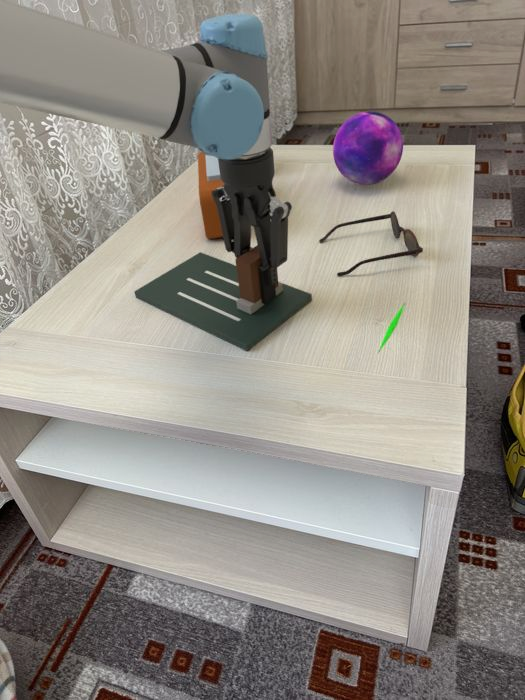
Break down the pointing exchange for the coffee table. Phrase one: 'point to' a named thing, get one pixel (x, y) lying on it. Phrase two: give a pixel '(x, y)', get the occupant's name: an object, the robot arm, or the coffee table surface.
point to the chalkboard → (219, 301)
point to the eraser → (251, 281)
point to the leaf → (391, 327)
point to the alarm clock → (209, 194)
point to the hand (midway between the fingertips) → (260, 295)
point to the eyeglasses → (408, 235)
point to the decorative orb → (368, 148)
